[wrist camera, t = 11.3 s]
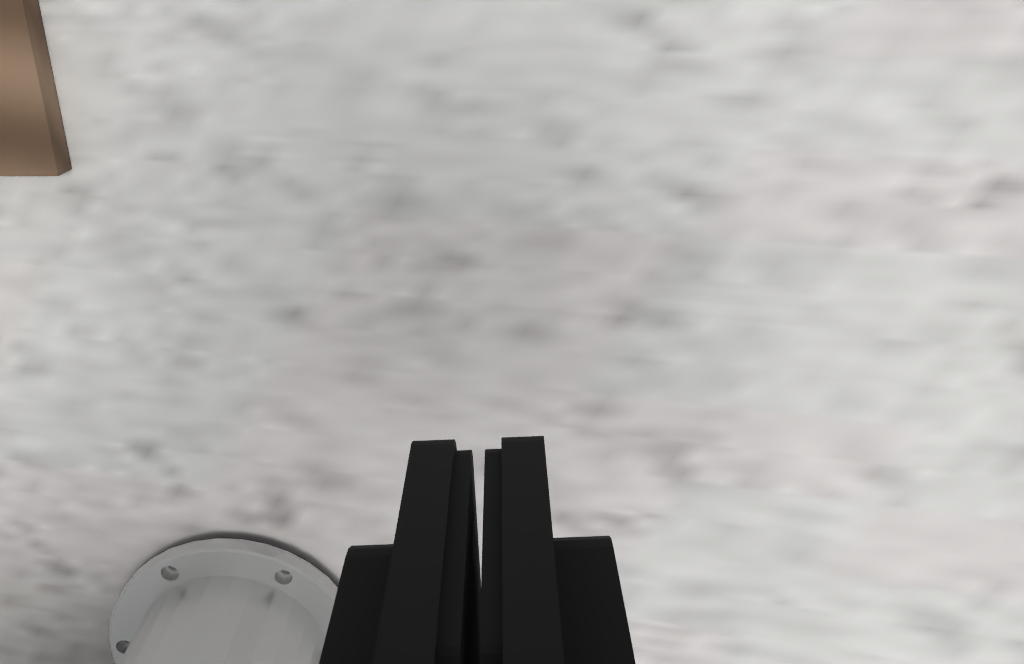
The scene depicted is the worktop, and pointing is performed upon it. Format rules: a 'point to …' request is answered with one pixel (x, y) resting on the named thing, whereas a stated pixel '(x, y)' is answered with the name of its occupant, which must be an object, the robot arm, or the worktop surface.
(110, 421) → the worktop surface
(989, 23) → the worktop surface
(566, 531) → the worktop surface
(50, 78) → the latch board
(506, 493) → the robot arm
